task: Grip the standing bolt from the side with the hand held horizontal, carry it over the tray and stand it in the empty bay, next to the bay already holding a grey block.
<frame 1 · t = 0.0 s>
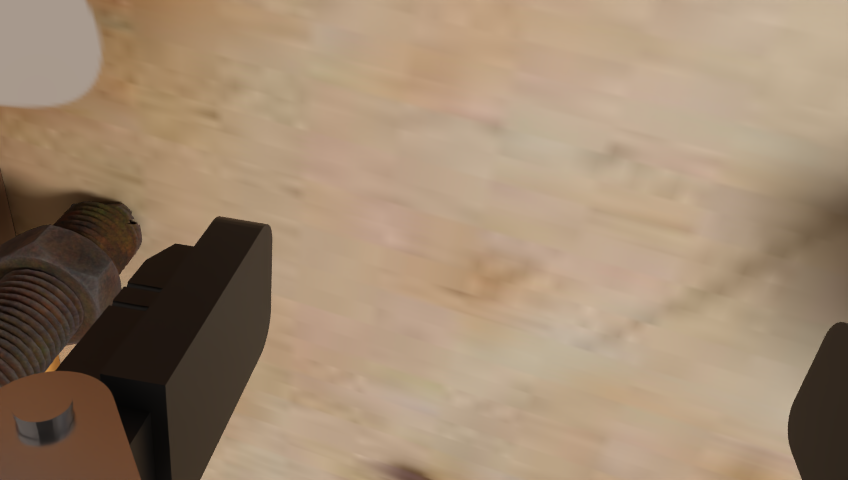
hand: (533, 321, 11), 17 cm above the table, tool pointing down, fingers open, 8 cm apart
bolt: (112, 220, 34), on the table
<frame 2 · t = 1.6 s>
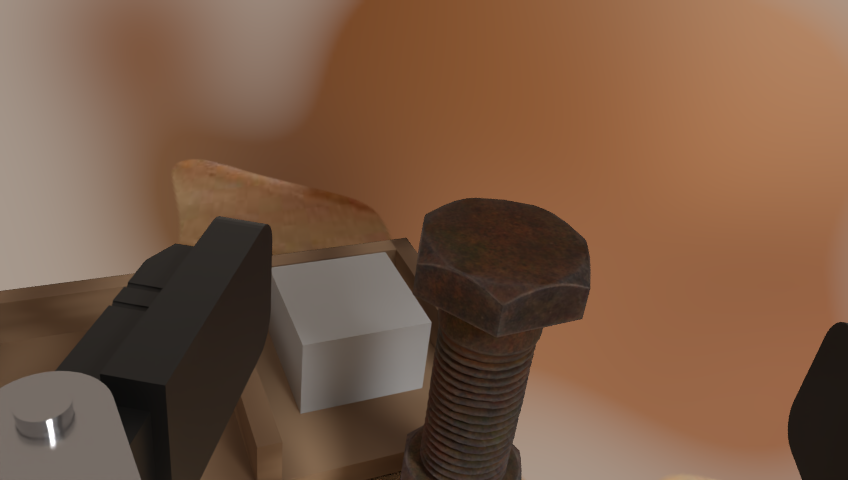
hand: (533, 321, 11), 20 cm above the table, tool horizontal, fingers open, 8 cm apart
tray: (237, 398, 37), on the table
grey block: (343, 359, 39), point 1 cm above the table, touching tray
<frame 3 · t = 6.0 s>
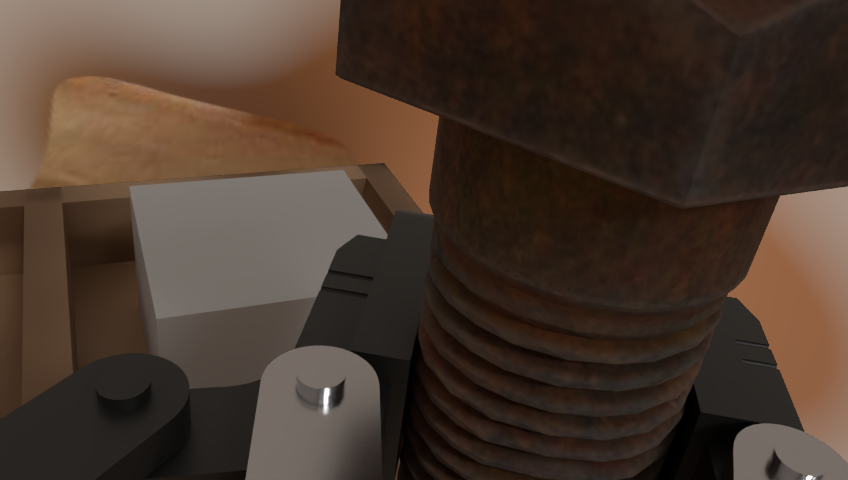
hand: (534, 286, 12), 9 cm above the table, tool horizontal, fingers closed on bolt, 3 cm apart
tray: (63, 422, 20), on the table
grey block: (264, 354, 22), point 1 cm above the table, touching tray
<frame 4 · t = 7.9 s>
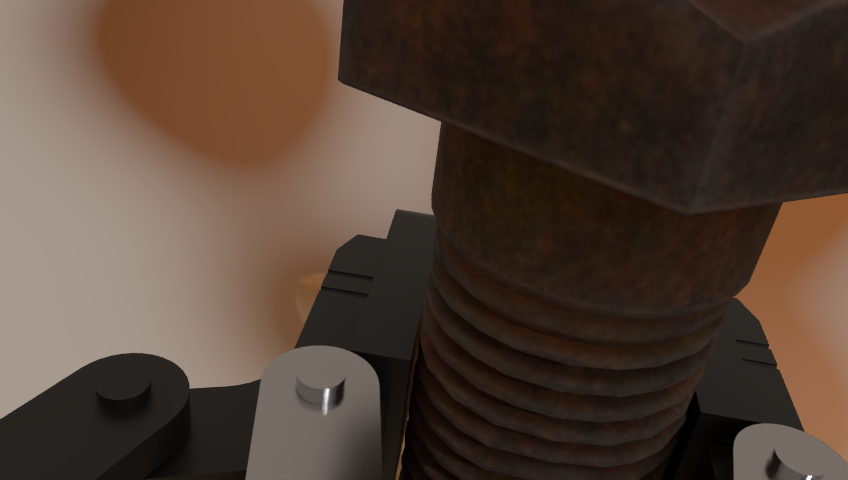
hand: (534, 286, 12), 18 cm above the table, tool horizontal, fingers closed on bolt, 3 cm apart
when the fingers open (11 cm above the table, at t = 9.7 s): bolt stays where it is, resting on tray.
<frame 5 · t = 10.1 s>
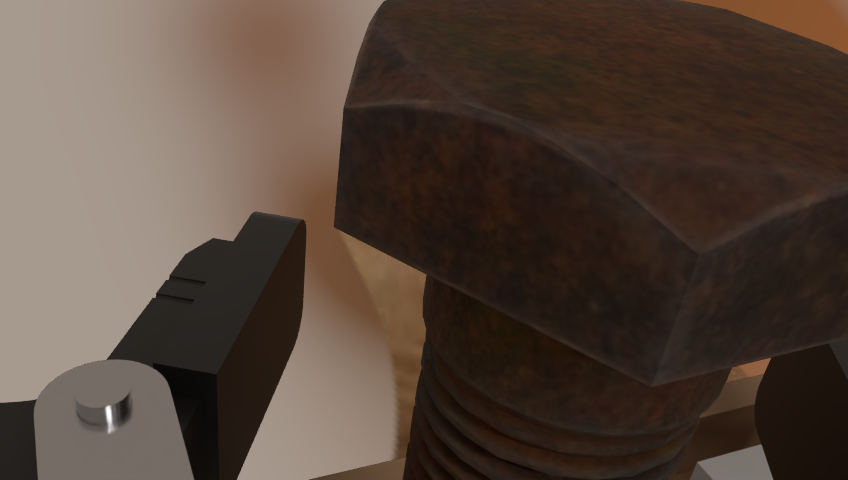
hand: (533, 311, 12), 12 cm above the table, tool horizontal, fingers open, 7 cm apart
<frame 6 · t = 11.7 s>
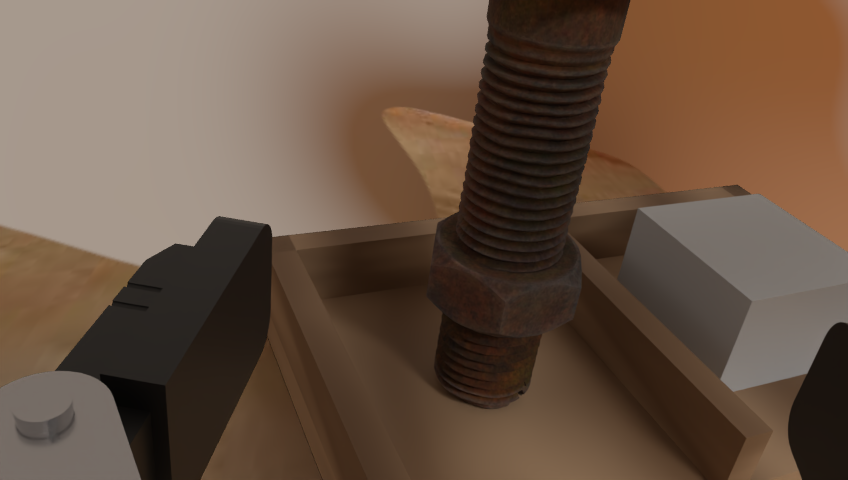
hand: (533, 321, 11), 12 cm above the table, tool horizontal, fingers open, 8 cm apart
tray: (600, 377, 29), on the table
grey block: (721, 329, 30), point 1 cm above the table, touching tray
bolt: (478, 386, 26), point 1 cm above the table, touching tray
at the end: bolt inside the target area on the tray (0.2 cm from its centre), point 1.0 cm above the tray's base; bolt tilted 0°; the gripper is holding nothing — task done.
